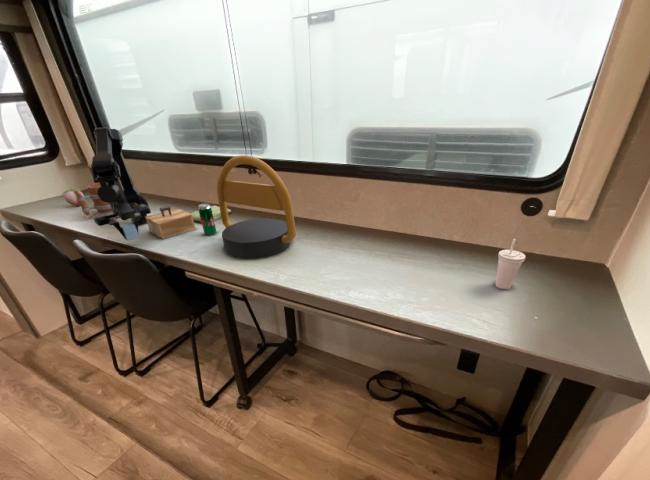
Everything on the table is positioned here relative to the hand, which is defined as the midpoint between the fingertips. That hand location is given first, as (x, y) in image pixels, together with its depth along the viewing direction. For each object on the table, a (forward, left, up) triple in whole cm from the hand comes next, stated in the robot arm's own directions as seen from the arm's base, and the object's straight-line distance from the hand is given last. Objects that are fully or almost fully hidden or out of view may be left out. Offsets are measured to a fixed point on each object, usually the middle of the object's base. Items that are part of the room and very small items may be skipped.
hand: (130, 235), depth 130 cm
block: (0, 0, -1) cm, 1 cm away
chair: (+40, +32, -4) cm, 52 cm away
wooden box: (-3, +17, -4) cm, 18 cm away
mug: (-53, +4, -4) cm, 54 cm away
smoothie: (+119, +60, -4) cm, 133 cm away
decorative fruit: (-87, -2, -4) cm, 88 cm away
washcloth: (-7, +37, -4) cm, 38 cm away
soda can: (+14, +26, -4) cm, 30 cm away
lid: (-4, +17, +2) cm, 18 cm away
